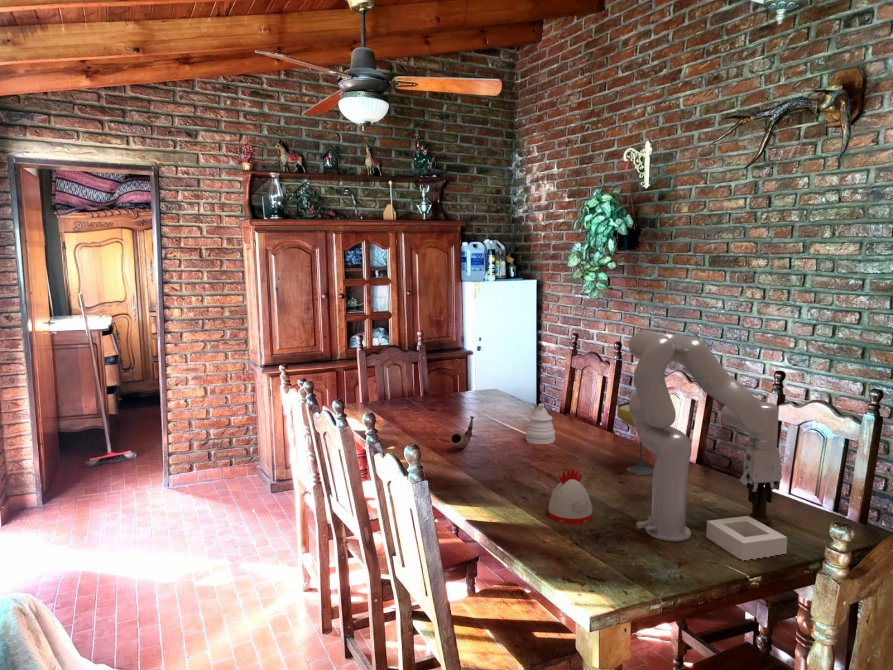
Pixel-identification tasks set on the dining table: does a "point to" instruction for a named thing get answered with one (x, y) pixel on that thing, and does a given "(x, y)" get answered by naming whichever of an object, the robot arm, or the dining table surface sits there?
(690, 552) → the dining table surface
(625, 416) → the cocktail glass
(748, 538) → the socket
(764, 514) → the pepper mill
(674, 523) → the robot arm
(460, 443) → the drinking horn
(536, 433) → the honey pot
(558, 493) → the kitchen timer
